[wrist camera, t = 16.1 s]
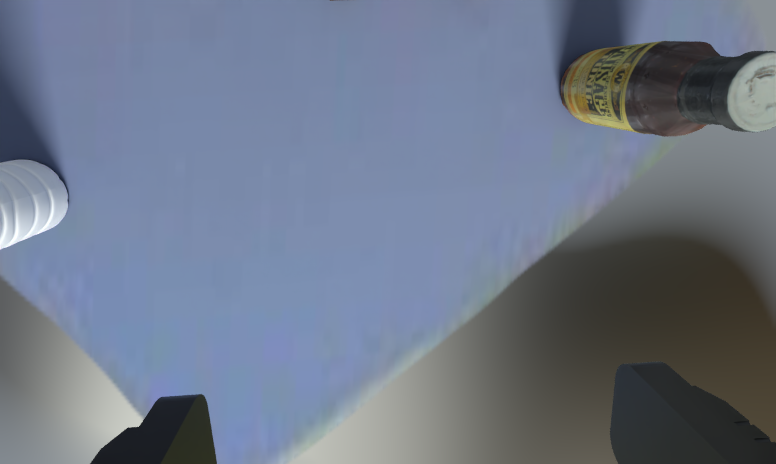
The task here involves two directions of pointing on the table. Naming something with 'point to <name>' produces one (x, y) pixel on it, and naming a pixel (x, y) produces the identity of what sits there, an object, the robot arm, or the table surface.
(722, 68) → the sauce bottle
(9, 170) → the water bottle
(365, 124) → the table surface
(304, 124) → the table surface
